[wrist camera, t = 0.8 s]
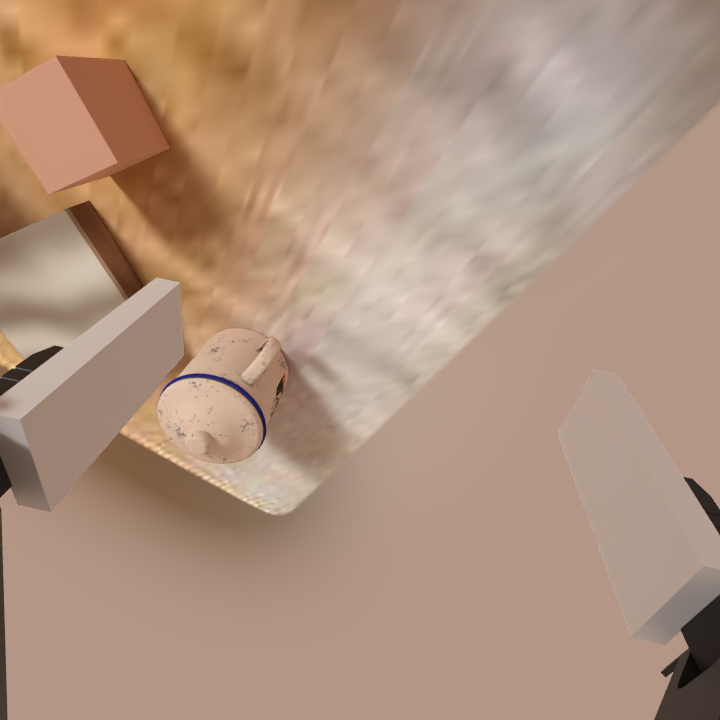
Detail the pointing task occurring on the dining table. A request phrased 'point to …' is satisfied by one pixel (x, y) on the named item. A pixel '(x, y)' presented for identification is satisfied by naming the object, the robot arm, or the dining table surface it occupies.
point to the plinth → (60, 279)
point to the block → (79, 120)
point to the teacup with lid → (225, 396)
